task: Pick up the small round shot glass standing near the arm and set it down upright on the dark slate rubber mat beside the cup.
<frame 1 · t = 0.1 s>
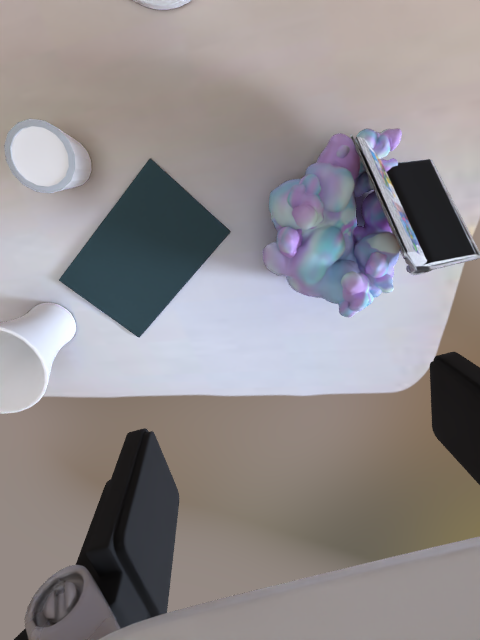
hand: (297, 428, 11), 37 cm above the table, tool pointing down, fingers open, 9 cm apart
cup: (53, 323, 48), on the table
shot glass: (68, 162, 41), on the table
mat: (144, 255, 45), on the table
pastel bubbly cloud: (339, 219, 46), on the table
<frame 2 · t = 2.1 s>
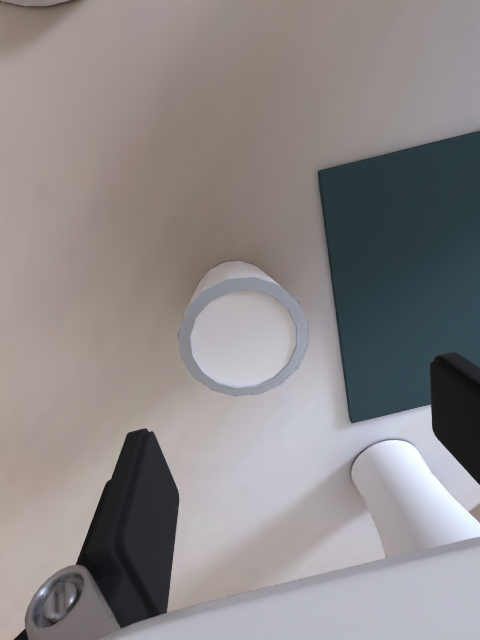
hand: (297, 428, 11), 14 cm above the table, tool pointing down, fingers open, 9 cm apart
cup: (384, 465, 31), on the table
shot glass: (235, 299, 24), on the table
mat: (421, 293, 25), on the table
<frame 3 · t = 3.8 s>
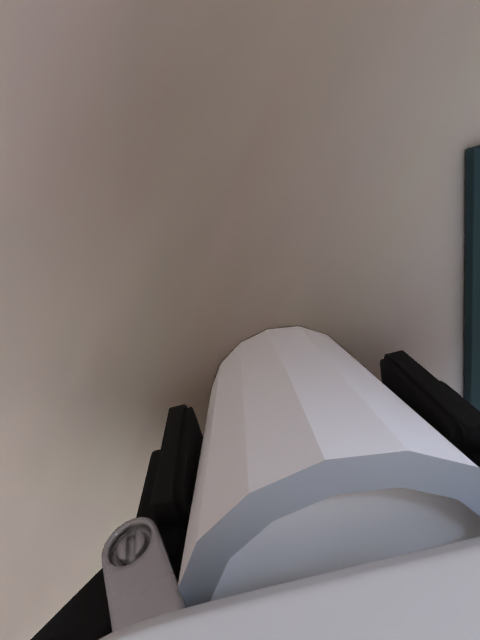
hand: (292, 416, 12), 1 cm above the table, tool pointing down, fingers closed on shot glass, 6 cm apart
shot glass: (283, 391, 13), on the table, touching gripper
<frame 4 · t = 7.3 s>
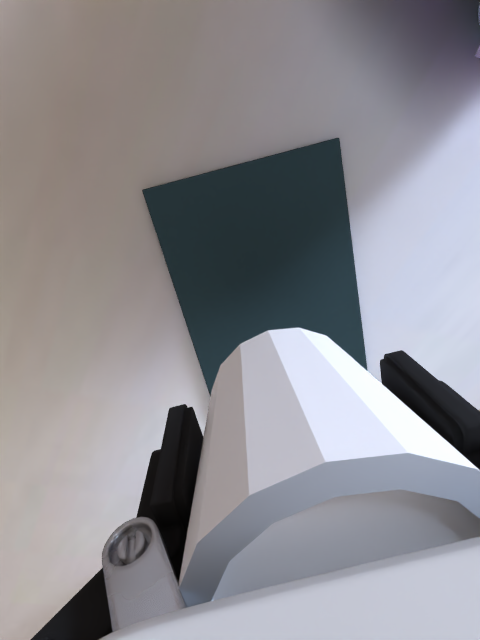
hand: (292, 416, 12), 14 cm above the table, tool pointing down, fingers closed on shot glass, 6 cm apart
shot glass: (283, 392, 13), point 13 cm above the table, touching gripper
mat: (271, 305, 26), on the table
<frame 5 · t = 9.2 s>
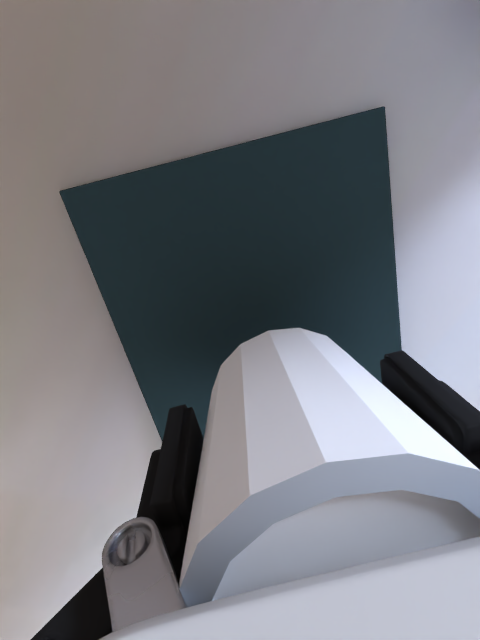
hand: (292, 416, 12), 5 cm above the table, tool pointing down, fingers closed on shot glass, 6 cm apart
shot glass: (284, 392, 13), point 4 cm above the table, touching gripper
mat: (271, 365, 17), on the table
when the fingers open (1 cm above the table, at t = 10.6 s): shot glass stays where it is, resting on mat.
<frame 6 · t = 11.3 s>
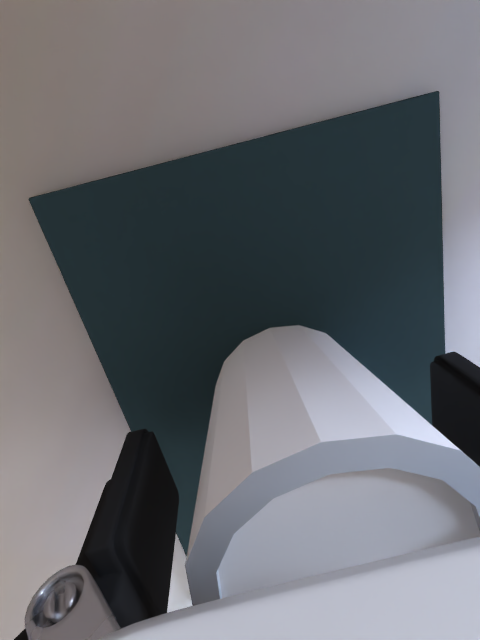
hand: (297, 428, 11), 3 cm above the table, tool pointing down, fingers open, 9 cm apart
shot glass: (284, 387, 14), resting on mat
mat: (288, 404, 14), on the table
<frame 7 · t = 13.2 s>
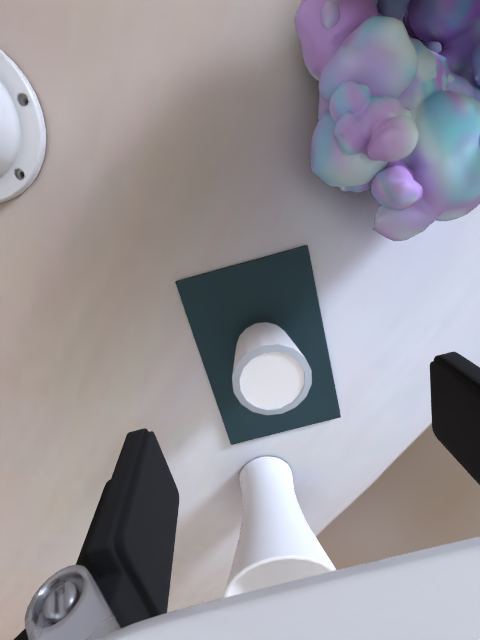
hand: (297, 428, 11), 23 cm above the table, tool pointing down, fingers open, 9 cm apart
cup: (265, 475, 42), on the table
shot glass: (262, 346, 35), resting on mat
mat: (264, 354, 36), on the table
pastel bubbly cloud: (397, 83, 28), on the table
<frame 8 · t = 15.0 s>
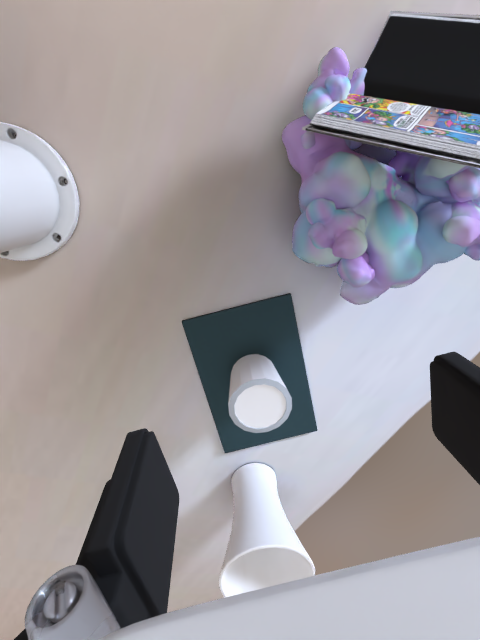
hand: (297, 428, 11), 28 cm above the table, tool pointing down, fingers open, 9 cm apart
cup: (253, 478, 49), on the table
shot glass: (253, 373, 42), resting on mat
mat: (254, 379, 43), on the table
pastel bubbly cloud: (363, 171, 35), on the table
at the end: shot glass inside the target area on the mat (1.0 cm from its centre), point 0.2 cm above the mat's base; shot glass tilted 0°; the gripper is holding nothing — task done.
